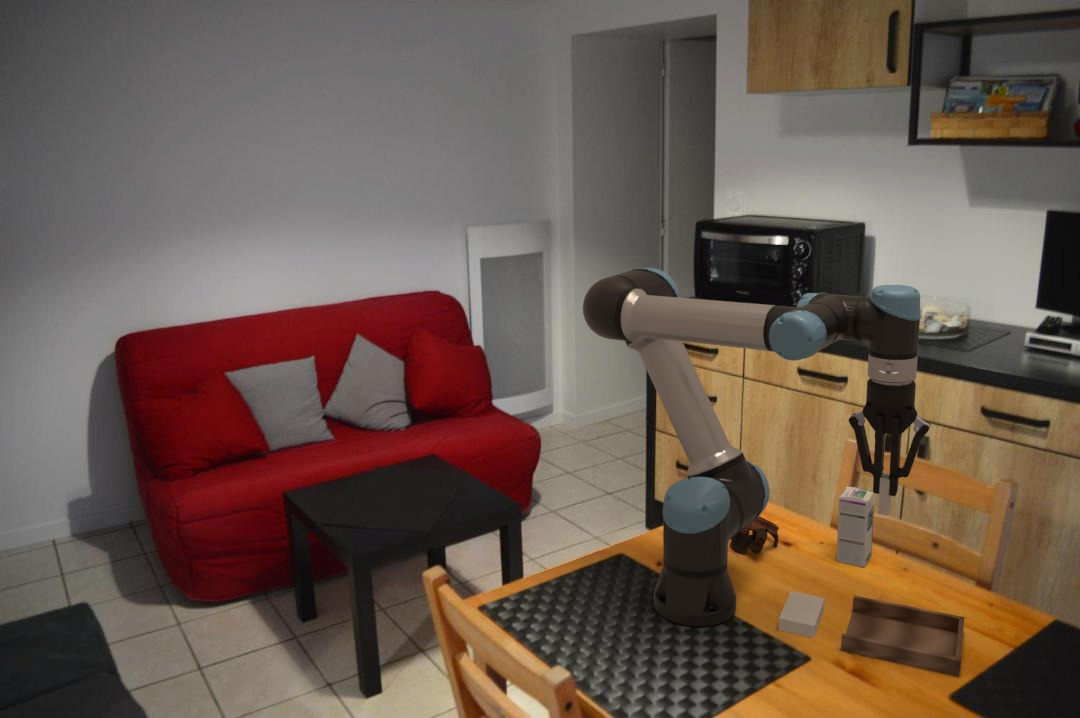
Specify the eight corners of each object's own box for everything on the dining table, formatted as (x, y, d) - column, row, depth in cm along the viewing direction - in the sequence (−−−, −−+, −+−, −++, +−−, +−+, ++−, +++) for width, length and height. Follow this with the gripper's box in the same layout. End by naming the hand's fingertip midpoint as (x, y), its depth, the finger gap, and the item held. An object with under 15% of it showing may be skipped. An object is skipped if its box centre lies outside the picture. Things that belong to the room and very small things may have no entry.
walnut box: (840, 656, 150) (841, 635, 149) (852, 615, 162) (854, 595, 161) (958, 683, 142) (960, 661, 141) (962, 637, 154) (964, 617, 153)
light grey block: (778, 633, 156) (778, 618, 155) (790, 605, 164) (790, 591, 164) (813, 641, 153) (814, 625, 152) (823, 612, 162) (824, 597, 161)
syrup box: (865, 568, 178) (869, 500, 174) (834, 561, 181) (838, 495, 177) (871, 556, 183) (876, 490, 179) (842, 549, 186) (845, 485, 182)
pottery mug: (722, 540, 193) (738, 506, 193) (761, 559, 193) (777, 524, 193) (735, 553, 181) (752, 516, 181) (777, 572, 181) (795, 535, 181)
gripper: (845, 381, 148) (840, 513, 154) (931, 389, 141) (921, 527, 147) (855, 370, 154) (849, 497, 160) (937, 377, 148) (928, 509, 153)
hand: (884, 511), depth 154 cm, fingers closed
